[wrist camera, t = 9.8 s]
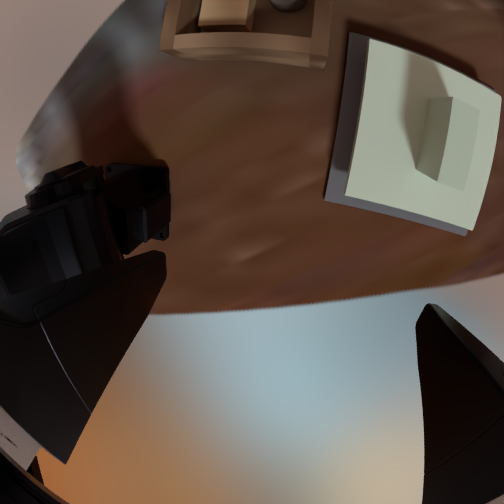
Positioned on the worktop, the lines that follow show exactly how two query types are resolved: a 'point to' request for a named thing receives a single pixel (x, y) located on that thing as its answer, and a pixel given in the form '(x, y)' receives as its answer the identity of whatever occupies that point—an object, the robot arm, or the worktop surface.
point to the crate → (249, 31)
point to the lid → (422, 137)
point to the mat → (347, 135)
